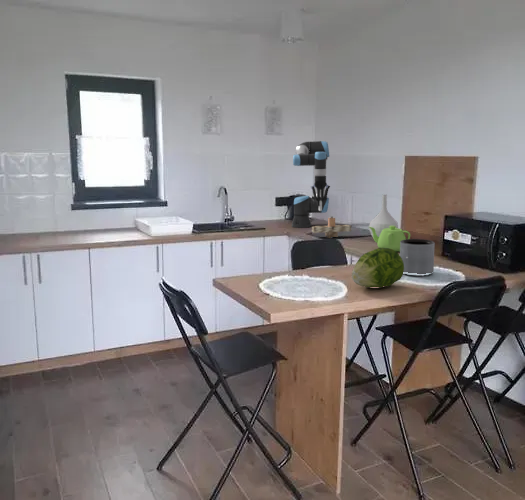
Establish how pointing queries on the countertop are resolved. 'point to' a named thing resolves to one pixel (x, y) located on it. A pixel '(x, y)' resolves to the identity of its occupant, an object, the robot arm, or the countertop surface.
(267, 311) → the countertop surface
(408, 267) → the planter
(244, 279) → the countertop surface
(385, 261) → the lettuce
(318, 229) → the beam
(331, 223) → the block
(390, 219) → the vase
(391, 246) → the teapot
